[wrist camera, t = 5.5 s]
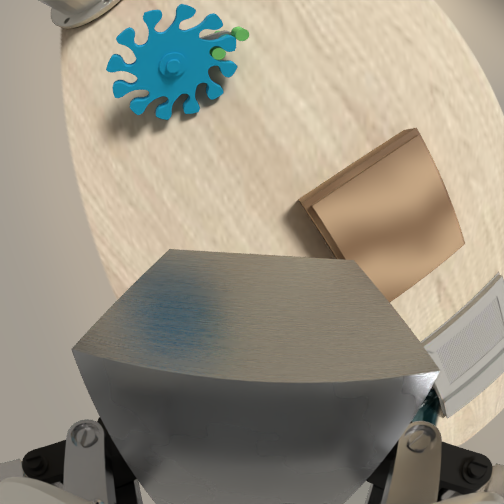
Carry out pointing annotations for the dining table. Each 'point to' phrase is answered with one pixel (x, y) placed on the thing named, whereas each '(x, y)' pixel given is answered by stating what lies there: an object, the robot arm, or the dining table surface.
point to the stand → (388, 214)
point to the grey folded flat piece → (469, 348)
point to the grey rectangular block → (253, 378)
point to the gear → (175, 61)
